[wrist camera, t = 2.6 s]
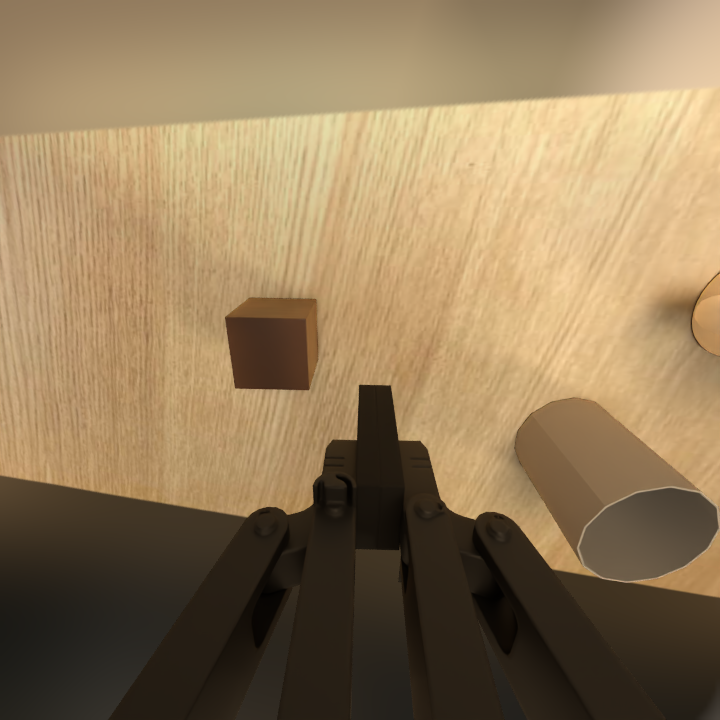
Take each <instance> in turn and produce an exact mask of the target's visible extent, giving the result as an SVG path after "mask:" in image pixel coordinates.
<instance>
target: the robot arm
mask: <svg viewBox="0 0 720 720" xmlns="http://www.w3.org/2000/svg"><path fill="white" fill-rule="evenodd" d="M313 499H314V504H313V505H312V506H310V507H309V508H307V509H306V510H304V511H301V512H298V513H294V514H290V515H287V514H286V513H285V512H284V511H283V510H281V509H279V508H276V507H266V508H262V509H259V510H257V511H255V512H253V513H252V514H251V515H250V516H249V517H248V518H247V519H246V520H245V522H244V523H243V524H242V526H241V527H240V529H239V530H238V532H237V533H236V535H235V536H234V538H233V539H232V540H231V542H230V544H229V545H228V546H227V548H226V549H225V551H224V552H223V554H222V555H221V556H220V558H219V559H218V561H217V562H216V564H215V565H214V567H213V568H212V569H211V571H210V573H209V574H208V575H207V577H206V578H205V580H204V581H203V583H202V584H201V586H200V587H199V588H198V590H197V591H196V593H195V594H194V596H193V597H192V599H191V600H190V602H189V603H188V605H187V606H186V607H185V609H184V610H183V612H182V613H181V615H180V616H179V618H178V619H177V620H176V622H175V623H174V625H173V626H172V628H171V629H170V631H169V632H168V634H167V635H166V636H165V638H164V639H163V641H162V642H161V644H160V645H159V647H158V648H157V650H156V651H155V652H154V654H153V656H152V657H151V658H150V660H149V661H148V663H147V664H146V666H145V667H144V668H143V670H142V671H141V673H140V674H139V676H138V678H137V679H136V680H135V682H134V683H133V684H132V686H131V687H130V689H129V690H128V692H127V693H126V695H125V696H124V698H123V699H122V700H121V702H120V703H119V705H118V706H117V708H116V710H115V711H114V712H113V714H112V715H111V717H110V718H109V719H108V720H235V718H236V716H237V714H238V711H239V709H240V707H241V705H242V702H243V700H244V698H245V695H246V693H247V691H248V689H249V686H250V684H251V681H252V679H253V677H254V675H255V673H256V670H257V668H258V666H259V664H260V661H261V659H262V657H263V654H264V652H265V650H266V648H267V645H268V643H269V641H270V638H271V636H272V634H273V631H274V629H275V627H276V625H277V622H278V620H279V618H280V616H281V613H282V611H283V609H284V606H285V604H286V602H287V600H288V597H289V595H290V593H291V591H292V587H293V586H297V585H300V590H299V596H298V601H297V607H296V613H295V618H294V624H293V630H292V636H291V642H290V647H289V653H288V659H287V665H286V671H285V676H284V682H283V688H282V694H281V700H280V706H279V711H278V717H277V720H351V691H352V653H353V618H354V584H355V581H354V580H355V549H377V550H399V547H400V549H401V561H400V571H399V582H402V593H403V604H404V615H405V626H406V637H407V647H408V658H409V669H410V680H411V691H412V701H413V712H414V720H505V719H504V715H503V712H502V708H501V704H500V701H499V697H498V693H497V689H496V686H495V682H494V678H493V675H492V671H491V668H490V664H489V660H488V656H487V652H486V649H485V645H484V641H483V637H482V634H481V630H480V626H479V623H480V625H481V627H482V629H483V631H484V633H485V635H486V637H487V639H488V641H489V643H490V645H491V647H492V649H493V651H494V653H495V655H496V657H497V659H498V661H499V663H500V665H501V667H502V669H503V671H504V673H505V675H506V677H507V679H508V681H509V684H510V685H511V687H512V690H513V692H514V694H515V696H516V698H517V700H518V702H519V704H520V706H521V708H522V710H523V712H524V714H525V716H526V718H527V720H666V719H665V717H664V716H663V715H662V713H661V712H660V711H659V709H658V708H657V707H656V705H655V704H654V703H653V701H652V700H651V699H650V698H649V696H648V695H647V694H646V693H645V691H644V690H643V688H642V687H641V686H640V685H639V683H638V682H637V681H636V679H635V678H634V677H633V675H632V674H631V673H630V671H629V670H628V669H627V668H626V666H625V665H624V664H623V662H622V661H621V660H620V658H619V657H618V656H617V655H616V653H615V652H614V651H613V649H612V648H611V647H610V645H609V644H608V643H607V641H606V640H605V639H604V637H603V636H602V635H601V634H600V632H599V631H598V630H597V628H596V627H595V626H594V624H593V623H592V622H591V620H590V619H589V618H588V617H587V615H586V614H585V613H584V611H583V610H582V609H581V607H580V606H579V605H578V603H577V602H576V601H575V600H574V598H573V597H572V596H571V594H570V593H569V592H568V591H567V589H566V588H565V586H564V585H563V584H562V583H561V581H560V580H559V579H558V577H557V576H556V575H555V573H554V572H553V571H552V569H551V568H550V567H549V565H548V564H547V563H546V561H545V560H544V559H543V558H542V556H541V555H540V554H539V552H538V551H537V550H536V548H535V547H534V546H533V544H532V543H531V542H530V541H529V539H528V538H527V537H526V535H525V534H524V533H523V531H522V530H521V529H520V527H519V526H518V525H517V524H516V523H515V522H514V521H513V520H512V519H510V518H508V517H507V516H505V515H503V514H499V513H496V512H485V513H483V514H480V515H479V516H478V517H477V519H476V520H474V519H470V518H467V517H463V516H461V515H458V514H456V513H454V512H452V511H451V510H449V509H448V508H447V507H446V505H445V503H444V502H443V501H442V500H441V499H440V496H439V493H438V489H437V485H436V481H435V477H434V473H433V469H432V465H431V461H430V457H429V453H428V450H427V448H426V447H425V446H424V445H423V444H422V443H421V441H398V434H397V426H396V419H395V412H394V405H393V398H392V391H391V386H385V385H359V406H358V431H357V440H332V441H331V443H330V444H329V445H328V446H327V448H326V453H325V459H324V466H323V471H322V475H321V476H319V477H318V478H317V479H316V480H315V482H314V485H313ZM478 620H479V623H478Z"/></svg>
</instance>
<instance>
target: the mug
mask: <svg viewBox="0 0 720 720" xmlns="http://www.w3.org/2000/svg"><path fill="white" fill-rule="evenodd" d="M692 330H693V333H694V336H695V338H696V339H697V341H698V342H699V344H700V345H701V346H702V347H703V348H704V349H705V350H707V351H708V352H710V353H713V354H715V355H717V356H720V273H719V274H718V275H717V276H716V277H715V278H714V279H713V280H712V281H711V282H710V283H709V285H708V286H707V287H706V288H705V289H704V291H703V292H702V294H701V296H700V297H699V299H698V301H697V303H696V306H695V309H694V312H693V317H692Z"/></svg>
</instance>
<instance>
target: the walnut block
mask: <svg viewBox="0 0 720 720" xmlns="http://www.w3.org/2000/svg"><path fill="white" fill-rule="evenodd" d="M225 320H226V327H227V334H228V341H229V348H230V355H231V362H232V369H233V376H234V383H235V388H240V389H283V390H309V389H310V386H311V382H312V379H313V376H314V372H315V369H316V366H317V362H318V336H317V305H316V299H287V298H249V299H247V300H246V301H245V302H244V303H242V304H241V305H240V306H239V307H237V308H236V309H235V310H234V311H232V312H231V313H230V314H228V315H227V316H226V317H225Z"/></svg>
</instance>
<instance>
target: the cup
mask: <svg viewBox="0 0 720 720" xmlns="http://www.w3.org/2000/svg"><path fill="white" fill-rule="evenodd" d="M515 450H516V453H517V456H518V458H519V461H520V463H521V465H522V467H523V468H524V470H525V471H526V473H527V475H528V476H529V478H530V480H531V481H532V483H533V485H534V486H535V488H536V490H537V491H538V493H539V495H540V496H541V498H542V500H543V501H544V503H545V504H546V506H547V508H548V509H549V511H550V513H551V514H552V516H553V518H554V519H555V521H556V523H557V524H558V526H559V528H560V529H561V531H562V532H563V534H564V536H565V537H566V539H567V541H568V542H569V544H570V546H571V547H572V549H573V551H574V552H575V554H576V556H577V557H578V559H579V561H580V562H581V564H582V565H583V567H585V568H586V569H588V570H589V571H591V572H592V573H594V574H595V575H597V576H598V577H600V578H601V579H607V580H613V581H619V582H625V583H629V582H636V581H644V580H651V579H657V578H660V577H662V576H665V575H667V574H670V573H672V572H675V571H677V570H680V569H682V568H685V567H686V566H688V565H689V564H690V563H692V562H693V561H694V560H695V559H697V558H698V557H699V556H700V555H702V554H703V553H704V552H706V551H707V550H708V549H709V548H710V546H711V544H712V543H713V541H714V539H715V537H716V536H717V534H718V532H719V530H720V513H719V506H717V505H716V504H715V503H714V502H713V501H712V500H710V499H709V498H708V497H707V496H706V495H705V494H703V493H702V492H701V491H700V490H699V489H698V488H696V487H695V486H694V485H693V484H692V483H691V482H689V481H688V480H687V479H686V478H685V477H683V476H682V475H681V474H680V473H679V472H678V471H676V470H675V469H674V468H673V467H672V466H670V465H669V464H668V463H667V462H666V461H665V460H663V459H662V458H661V457H660V456H659V455H657V454H656V453H655V452H654V451H653V450H652V449H650V448H649V447H648V446H647V445H646V444H645V443H643V442H642V441H641V440H640V439H639V438H637V437H636V436H635V435H634V434H633V433H632V432H630V431H629V430H628V429H627V428H626V427H624V426H623V425H622V424H621V423H620V422H619V421H617V420H616V419H615V418H614V417H613V416H611V415H610V414H609V413H608V412H607V411H606V410H604V409H603V408H602V407H601V406H600V405H598V404H597V403H596V402H593V401H588V400H583V399H578V398H571V399H565V400H560V401H555V402H551V403H549V404H547V405H546V406H544V407H542V408H541V409H539V410H537V411H536V412H534V413H532V414H531V415H530V416H529V417H528V419H527V420H526V421H525V423H524V424H523V425H522V426H521V428H520V429H519V430H518V434H517V439H516V443H515Z"/></svg>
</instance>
